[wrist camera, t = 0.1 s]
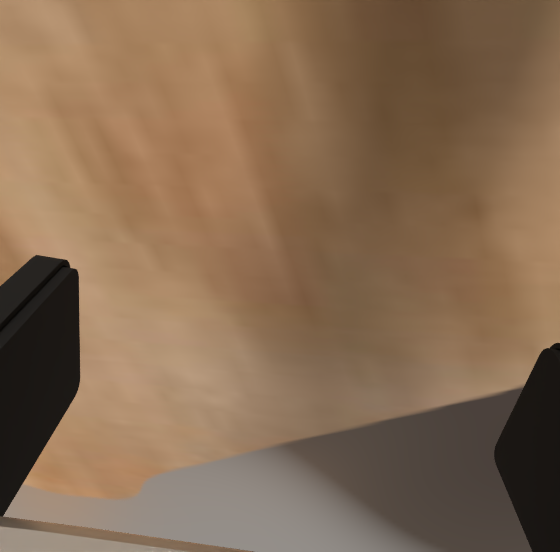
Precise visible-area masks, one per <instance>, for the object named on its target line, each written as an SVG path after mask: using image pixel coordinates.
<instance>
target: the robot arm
mask: <svg viewBox="0 0 560 552" xmlns="http://www.w3.org/2000/svg"><path fill="white" fill-rule="evenodd" d="M79 383H80V337H79V276H78V271H77V270H76V269H73V268H70V265H69V262H68V261H67V260H63V259H57V258H51V257H45V256H40V255H36V256H34V257H33V258H31V259H30V260H29V261H28V262H27V263H26V264H25V265H24V266H23V267H21V268H20V269H19V270H18V271H17V272H16V273H15V274H14V275H12V276H11V277H10V278H9V279H8V280H7V281H6V282H5V283H4V284H2V285H1V286H0V552H253V551H245V550H239V549H232V548H225V547H218V546H211V545H204V544H197V543H191V542H183V541H176V540H170V539H162V538H156V537H149V536H142V535H135V534H128V533H122V532H114V531H108V530H101V529H94V528H87V527H79V526H72V525H64V524H56V523H48V522H40V521H32V520H25V519H17V518H9V517H3V515H4V514H5V512H6V510H7V509H8V507H9V505H10V504H11V502H12V500H13V499H14V497H15V495H16V494H17V492H18V490H19V489H20V487H21V485H22V484H23V482H24V480H25V479H26V477H27V475H28V474H29V472H30V470H31V469H32V467H33V465H34V464H35V462H36V460H37V459H38V457H39V455H40V454H41V452H42V450H43V449H44V447H45V445H46V444H47V442H48V441H49V439H50V437H51V436H52V434H53V432H54V431H55V429H56V427H57V426H58V424H59V422H60V421H61V419H62V417H63V416H64V414H65V412H66V411H67V409H68V407H69V406H70V404H71V402H72V401H73V399H74V397H75V395H76V393H77V391H78V387H79ZM494 457H495V462H496V465H497V468H498V470H499V473H500V475H501V477H502V480H503V482H504V484H505V487H506V489H507V491H508V494H509V497H510V499H511V501H512V504H513V506H514V508H515V511H516V513H517V516H518V518H519V520H520V523H521V525H522V528H523V530H524V532H525V534H526V537H527V540H528V542H529V544H530V547H531V549H532V551H533V552H560V343H556V344H554V345H552V346H551V347H550V349H549V348H546V349H544V350H543V351H542V352H541V354H540V355H539V357H538V359H537V361H536V364H535V366H534V368H533V370H532V372H531V374H530V376H529V378H528V380H527V382H526V384H525V386H524V388H523V390H522V392H521V394H520V397H519V399H518V401H517V403H516V405H515V407H514V409H513V411H512V413H511V415H510V417H509V419H508V421H507V423H506V425H505V427H504V429H503V431H502V433H501V436H500V437H499V439H498V442H497V444H496V446H495V452H494Z"/></svg>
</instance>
